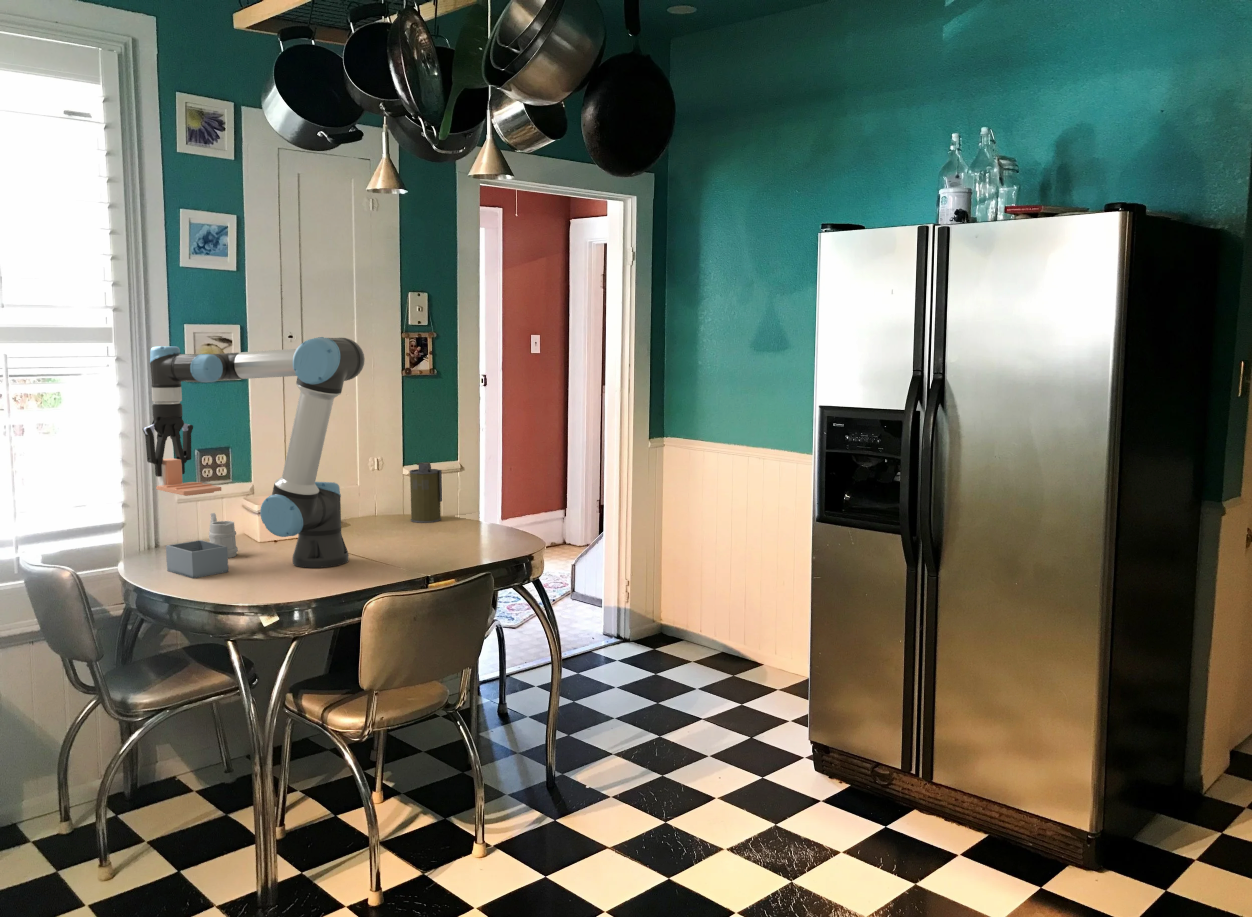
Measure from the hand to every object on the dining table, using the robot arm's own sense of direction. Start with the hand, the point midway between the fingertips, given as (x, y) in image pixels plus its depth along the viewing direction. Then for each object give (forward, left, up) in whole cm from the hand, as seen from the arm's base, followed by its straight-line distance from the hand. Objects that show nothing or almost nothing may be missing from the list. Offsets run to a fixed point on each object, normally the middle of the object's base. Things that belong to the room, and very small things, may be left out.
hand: (170, 486), depth 288 cm
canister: (+2, -91, -22) cm, 93 cm away
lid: (-7, 0, 0) cm, 7 cm away
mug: (+2, -15, -22) cm, 27 cm away
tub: (-13, 0, -22) cm, 25 cm away
